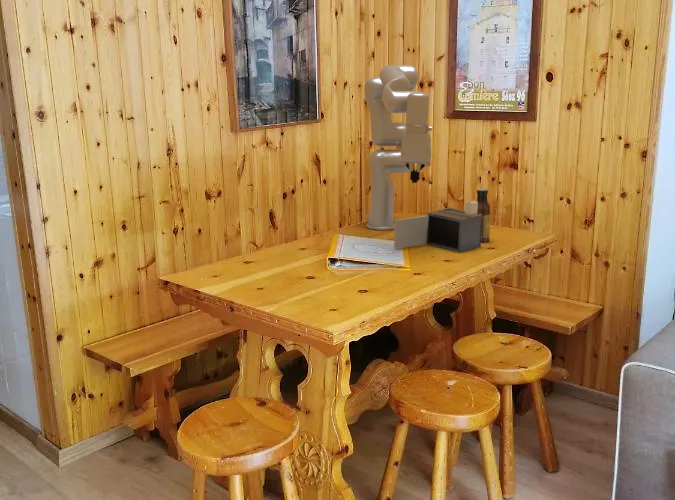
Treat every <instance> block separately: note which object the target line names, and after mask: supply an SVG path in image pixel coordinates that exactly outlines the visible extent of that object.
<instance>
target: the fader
mask: <svg viewBox="0 0 675 500" xmlns="http://www.w3.org/2000/svg"><path fill="white" fill-rule="evenodd" d="M464 211H465V214H467V215H475V214H477V211H478V202H477V199H472V200H468V201H465V203H464Z"/></svg>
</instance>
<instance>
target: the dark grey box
mask: <svg viewBox="0 0 675 500" xmlns="http://www.w3.org/2000/svg"><path fill="white" fill-rule="evenodd" d="M426 215H428V239H427V244H426V245H427V246H432V247H436V248H440V249H444V250H446V251H447V250H448V251H452V252H457V253H460V254H461V253H464V252H467V251H468V252H469V251H471V250H475V249H480V248H481V247H482V242H481V234H482V218H483V215H482V214H479V213H477V214H475V215H467V214H465V209H464V210H462V209H458V208H452V207H447V208H441V209H440V208H439V209H438V210H435V211H428V212H427V214H426Z"/></svg>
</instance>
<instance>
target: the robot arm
mask: <svg viewBox="0 0 675 500" xmlns="http://www.w3.org/2000/svg"><path fill="white" fill-rule="evenodd" d="M418 82H419V73H418V70H417V68H416V67H415V66H414V65H411V64H388V65H386V66H384V67H382V68H381V69H380V72H379V76H374V77H370V78H368V79H366V81H365V83H364V87H363V88H364V91H363V92H364V93H363V94H364V99H365V103H366V106H367V108H368V111H369V116H370V120H369V121H370V122H369V123H370V133H371V134H370V136H371V142H372V144H373V145H374V146H376V147H397V148H398V149H377V150H374V151H372V152H371V153H369V155H368V156H369V158H368V164H369V171H370V211H369V212H370V213H367V214H366V215H365V216H364V219H365V220H367V222H366V224H365V225H366V228H367V229H371V230H377V231H387V230H395V221H394V208H395V207H394V206H395V183H394V181H393V179H392V178H391V177H390V176H389V174H406V173H409V172H410V177H409V178H410V181H411V184H414V183H415V184H418V181H420V173H421V170H422V169H423V168H427V167H431V165H432V161H431V158H432V141H431V140H432V139H431V134H430V133H428V132H431V131H433V126H430V125H429V112H430V111H429V110H430V109H429V108H430V106H429V105H430V96H429V94H428V93H426V92H425V93H424V92H423V91H417V90H416V91H415V90H414V89H415V88H416V86H417V84H418ZM392 114H406V115H405V122H393V121H392ZM415 164H417V166H416V168H414V167H415V166H414V165H415Z"/></svg>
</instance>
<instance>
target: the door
mask: <svg viewBox="0 0 675 500" xmlns="http://www.w3.org/2000/svg"><path fill="white" fill-rule="evenodd" d="M394 223H395V229H394V233H393V234H394V236H393V242H394V243H393V248H394V247H395V248H394V249H400V248H399V247H402V248H406V247H407V248H409V247H413V246H414V247H415V246H420V245H427V239H428V215H427V214H426V215H421V216H413V217H406V218H405V217H404V218H399V219H395V220H394Z"/></svg>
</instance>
